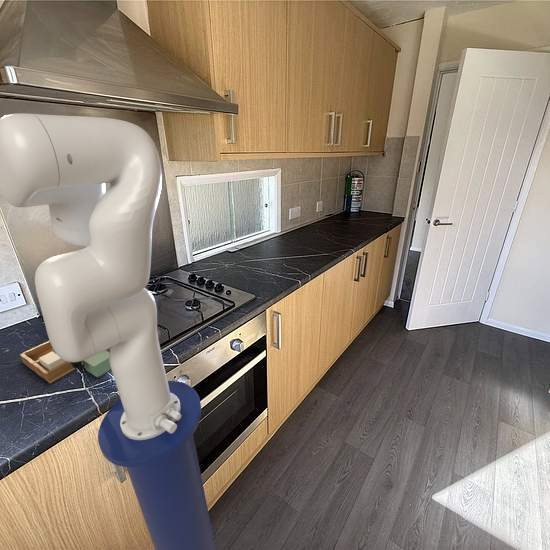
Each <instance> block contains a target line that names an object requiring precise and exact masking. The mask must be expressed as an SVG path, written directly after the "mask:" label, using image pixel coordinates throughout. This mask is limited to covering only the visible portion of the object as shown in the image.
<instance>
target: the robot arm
mask: <svg viewBox="0 0 550 550" xmlns="http://www.w3.org/2000/svg"><path fill="white" fill-rule="evenodd" d="M161 163H162V162H161V159H160V155H159V151H158V149H157V146H156V144H155V142H154V140H153V139H152V137H151V136H150V134H149V133H148V132H147V131H146V130H145V129H143V128H142V127H141V126H139V125H137V124H135V123H132V122H130V121H126V120H122V119H117V118H111V117H101V116H86V115H83V116H82V115H61V114H60V115H58V114H40V113H11V114H5V115H4V116H2V117H0V196H1V197H2V199H3V200H4V201H5V202H7V203H8V204H9V205H10V206H13V207H16V208H30V207H37V206H47V205H48V211H49V219H50V227H51V230H52V232H53V234H54V236H55V237H57V238H58V239H59V240H61V241H62V242H65V243H67V244H69V245H73V246H74V245H75V246H79V247H84V248H82V249H78V250H74V251H70V252H66V253H61V254H58V255H55V256H52V257H49V258H47V259H45V260H43V262H41V263H40V264H39V265H38V266H37V268H36V270H35V273H34V286H35V291H36V296H37V299H38V302H39V307H40V311H41V314H42V315H41V316H42V318H43V322H44V325H45V330H46V334H47V336H48V341H49V340H50V343H51V345H52V347H53V349H52V352H54V353H55V354H57V355H58V356H59V357H60V358H61V359H63V360H65V361H67V362H71V364H72V367H73V368H75V370H76V369H77V370H79V371H80V372H81V371H83V370H84V366H83V365H82V363H81V361H82V362H83V360H85V359H88V358H90V357H92V356H94V355H96V354H98V353H100V352H102V351H104V350H106V351H107V350H109V349H110V350H109V352H110V356H109V362H110V366H111V369H110V371H111V373H112V376H113V380H114V382H115V385H116V389H117V392H118V395H119V399H121V401H122V405H123V408H124V413H123V415H122V417H121V420H120V426H121V430H122V432H123V434H124V435H125V436H126V437H128V438H130V439H133V440H147V439H150V438H154V437H156V436H158V435H160V434H162V433H163V432H165V431H167V432H169V433H171V434H172V433H173V432H175V430H176V428H177V425H176V424H175V421H176V420H177V421H178V420H179V419H180V418H181V414H180V410H181V406H180V401H179V399H178V397H177V396H176V395H174V394H173V393H170V390H169V386H168V381H169V380H168V376H167V373H166V369H165V364H164V360H163V355H162V350H161V344H160V339H159V332H158V307H157V302H156V300H155V297H154V295H153V294H152V292H151V291H149V290H148V289H147V288H146V287H148V284H149V281H150V277H151V267H152V265H151V264H152V246H153V225H154V220H155V215H156V211H157V208H158V204H159V200H160V195H161V191H162V181H163V174H162V172H163V170H162V164H161ZM107 184H109V187H108V189H107V190H106V185H107Z"/></svg>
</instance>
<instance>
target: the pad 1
mask: <svg viewBox="0 0 550 550" xmlns="http://www.w3.org/2000/svg"><path fill="white" fill-rule="evenodd" d="M39 360H40V363H41V365H42V367H43V368H44V369H46V370H47V371H50V370H52V369H53V368H55V367H57V366H59V365H61V364H63V363H65V362H66V361H65V360H63V359H61V358H60V357H59V356H58V355H57V354H55V353H54V352H50V353H48V354H46V355H44V356H42V357H40V358H39Z"/></svg>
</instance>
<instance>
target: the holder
mask: <svg viewBox="0 0 550 550" xmlns="http://www.w3.org/2000/svg"><path fill="white" fill-rule="evenodd" d="M52 349H53V347H52V345H51V343H50V340H49V339H48V340H47V341H45V342H43V343H41V344H39V345H37V346H35V347H32V348H30V349H28V350H26V351H24V352H22V353H19V356H20V360H21V361H22V363H23V364H24V365H25V366H26V367H28V368H29V369H30V370H32V371H33V372H34V373H36V374H37V375H38V376H39V377H41V378H42V379H44V380H45V381H46V382H47V383H49V384H52V383H54V382H55V381H57V380H59V379H60V378H62V377H64V376H66V375H68V374H69V373H72V372H73V371H75V370H76V369H75V368H73V367H72V364H71V362H67V361H66V362H65V363H63V364H61V365H59V366H57V367H55V368H53V369H52V370H50V371H47V370H46V369H44V368H43V367H42V365H41V363H40V360H39V358H40V357H42V356H44V355H46V354H48V353H50V352H52ZM81 363H82V366H83V365H84V362H83V361H81Z"/></svg>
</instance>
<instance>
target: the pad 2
mask: <svg viewBox="0 0 550 550" xmlns="http://www.w3.org/2000/svg"><path fill="white" fill-rule="evenodd" d="M109 356H110V351H108V350H107V349H106V350H104V351H102V352H100V353H98V354H96V355H94V356H92V357H90V358H88V359H85V360H83V361H82V362H83V365H84V368H85V370H86V371H87V372H88V373H89V374H92V375H93V376H94V377H96V378H99V377H101V376H102V375H104V374H106V373H107V372H109V371H111V366H110V362H109Z"/></svg>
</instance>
